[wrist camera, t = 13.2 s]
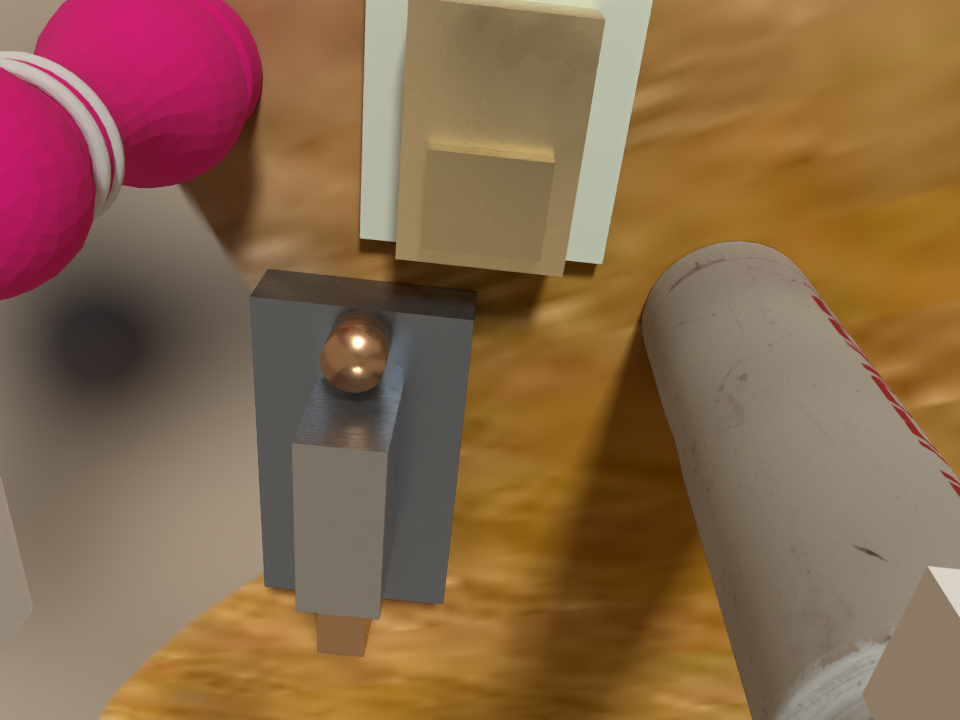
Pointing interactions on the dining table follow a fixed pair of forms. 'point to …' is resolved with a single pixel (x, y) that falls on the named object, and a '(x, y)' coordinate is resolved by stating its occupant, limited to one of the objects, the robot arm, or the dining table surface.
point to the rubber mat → (610, 113)
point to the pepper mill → (113, 118)
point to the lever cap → (494, 131)
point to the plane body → (357, 442)
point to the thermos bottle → (795, 477)
